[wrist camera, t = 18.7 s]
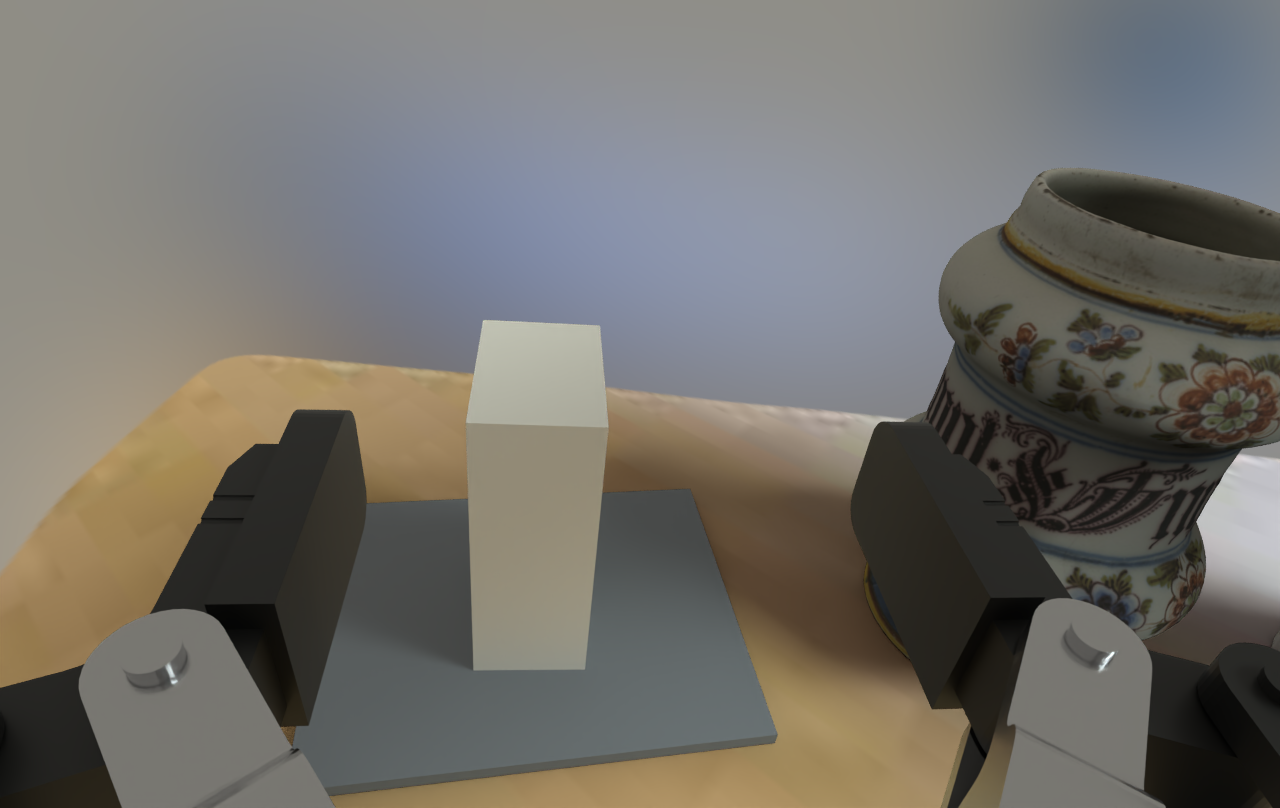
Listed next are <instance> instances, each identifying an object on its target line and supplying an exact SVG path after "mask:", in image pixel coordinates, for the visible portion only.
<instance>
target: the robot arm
mask: <svg viewBox="0 0 1280 808" xmlns="http://www.w3.org/2000/svg"><path fill="white" fill-rule="evenodd" d="M365 518H366V487H365V480H364V474H363V467H362V461H361V455H360V448H359V442H358V435H357V429H356V423H355V418H354V415H353V413H352V412H351V411H350V410H296V411H295V412H294V413H293V414H292V416H291V418H290V420H289V423H288V425H287V427H286V429H285V431H284V433H283V435H282V438H281V440H280V442H279V444H255V445H254V446H253V447H251V448H250V449H249V450H248V451H247V452H246V453H244V454H243V455H242V456H241V457H240V458H238V459H237V460H236V461H235V462H234V463H232V464H231V465H230V466H229V467H228V468H227V470H226V472H225V474H224V476H223V477H222V479H221V481H220V483H219V485H218V487H217V489H216V491H215V493H214V494H213V501H210V502H209V504H208V506H207V508H206V510H205V512H204V513H203V515H202V517H201V524H198V525H197V527H196V529H195V531H194V532H193V534H192V536H191V538H190V540H189V542H188V544H187V546H186V548H185V549H184V551H183V553H182V555H181V557H180V559H179V561H178V563H177V565H176V567H175V568H174V570H173V572H172V574H171V576H170V578H169V580H168V582H167V584H166V585H165V587H164V589H163V591H162V593H161V595H160V597H159V599H158V601H157V603H156V604H155V606H154V608H153V610H152V612H151V613H150V614H149V615H146V616H144V617H141V618H139V619H136V620H134V621H132V622H130V623H128V624H126V625H124V626H123V627H121V628H120V629H118V630H117V631H115V632H113V633H112V634H111V635H110V636H108V637H107V638H106V639H105V640H103V641H102V642H101V643H100V645H99V646H98V647H97V648H96V649H95V650H94V651H93V652H92V654H91V655H90V656H89V658H88V659H87V661H86V663H85V664H83V665H81V666H78V667H75V668H72V669H69V670H66V671H63V672H59V673H55V674H51V675H47V676H44V677H40V678H36V679H32V680H29V681H25V682H21V683H17V684H14V685H10V686H6V687H2V688H0V808H335V806H334V804H333V803H332V801H331V799H330V798H329V796H328V794H327V792H326V791H325V789H324V787H323V785H322V784H321V782H320V780H319V778H318V777H317V775H316V773H315V772H314V770H313V768H312V766H311V765H310V763H309V762H308V760H307V759H306V757H305V756H304V754H303V753H302V752H301V751H300V750H299V749H298V748H296V749H295V750H294V749H293V748H292V746H291V745H290V743H289V742H288V740H287V738H286V737H285V735H284V733H283V731H282V730H281V728H280V727H287V726H309V723H310V720H311V716H312V712H313V709H314V705H315V702H316V698H317V695H318V691H319V687H320V684H321V680H322V677H323V673H324V670H325V666H326V662H327V659H328V655H329V652H330V648H331V645H332V641H333V637H334V634H335V630H336V627H337V623H338V620H339V616H340V612H341V609H342V605H343V602H344V598H345V595H346V591H347V588H348V584H349V580H350V577H351V573H352V570H353V566H354V563H355V559H356V555H357V552H358V548H359V545H360V541H361V538H362V534H363V530H364V525H365ZM851 520H852V525H853V529H854V532H855V535H856V537H857V539H858V541H859V544H860V546H861V548H862V551H863V553H864V555H865V557H866V560H867V562H868V564H869V567H870V569H871V571H872V573H873V576H874V578H875V580H876V583H877V585H878V587H879V589H880V592H881V594H882V596H883V599H884V601H885V603H886V605H887V608H888V610H889V612H890V615H891V617H892V619H893V621H894V624H895V626H896V628H897V631H898V633H899V635H900V637H901V640H902V642H903V644H904V647H905V649H906V651H907V653H908V656H909V658H910V660H911V663H912V665H913V667H914V669H915V672H916V674H917V676H918V679H919V681H920V683H921V685H922V688H923V690H924V692H925V695H926V697H927V699H928V701H929V704H930V706H931V708H932V709H957V708H963V709H964V711H965V713H966V716H967V718H968V720H969V724H968V726H967V728H966V729H965V731H964V733H963V736H962V738H961V742H960V745H959V748H958V752H957V755H956V758H955V762H954V765H953V768H952V772H951V775H950V778H949V782H948V785H947V788H946V792H945V795H944V798H943V802H942V805H941V808H1280V631H1279V632H1278V633H1277V635H1276V636H1275V638H1274V641H1273V644H1272V647H1271V648H1270V647H1267V646H1263V645H1258V644H1253V643H1236V644H1232V645H1229V646H1227V647H1226V648H1224V649H1223V651H1222V652H1221V653H1220V654H1219V655H1218V657H1217V658H1216V659H1215V660H1214V661H1213V662H1212V664H1211V665H1210V666H1209V665H1205V664H1201V663H1197V662H1193V661H1189V660H1185V659H1181V658H1177V657H1173V656H1169V655H1165V654H1161V653H1157V652H1153V651H1150V650H1147V649H1146V647H1145V645H1144V644H1143V642H1142V641H1141V639H1140V638H1139V637H1138V636H1137V635H1136V634H1135V632H1134V631H1133V630H1132V629H1130V628H1129V627H1128V626H1127V625H1126V624H1125V623H1124V622H1122V621H1121V620H1120V619H1118V618H1117V617H1115V616H1114V615H1112V614H1111V613H1109V612H1107V611H1105V610H1103V609H1101V608H1099V607H1097V606H1095V605H1092V604H1090V603H1087V602H1084V601H1080V600H1075V599H1073V598H1072V597H1071V596H1070V594H1069V593H1068V591H1067V590H1066V588H1065V587H1064V585H1063V584H1062V582H1061V581H1060V580H1059V578H1058V577H1057V575H1056V574H1055V572H1054V571H1053V569H1052V568H1051V567H1050V565H1049V564H1048V562H1047V561H1046V559H1045V558H1044V556H1043V555H1042V553H1041V552H1040V551H1039V549H1038V548H1037V546H1036V545H1035V543H1034V542H1033V540H1032V539H1031V538H1030V536H1029V535H1028V533H1027V532H1026V530H1025V529H1024V527H1023V526H1019V520H1018V519H1017V517H1016V516H1015V514H1014V513H1013V511H1012V510H1011V509H1010V507H1009V506H1005V500H1004V498H1003V497H1002V495H1001V494H1000V493H999V491H998V490H997V488H996V487H995V485H994V484H993V482H992V481H991V480H990V478H989V477H988V476H987V475H986V474H985V473H984V472H982V471H981V470H980V469H979V468H977V467H976V466H975V465H974V464H972V463H971V462H970V461H969V460H967V459H966V458H965V457H964V456H962V455H961V454H952V453H951V452H950V450H949V449H948V447H947V446H946V444H945V443H944V441H943V440H942V438H941V437H940V435H939V434H938V432H937V431H936V429H935V428H934V426H933V425H931V424H930V423H927V422H880V423H879V424H878V425H877V426H876V427H875V429H874V431H873V434H872V437H871V440H870V443H869V446H868V449H867V452H866V455H865V458H864V461H863V464H862V467H861V470H860V473H859V476H858V479H857V482H856V485H855V488H854V491H853V494H852V499H851Z"/></svg>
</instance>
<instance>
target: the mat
mask: <svg viewBox="0 0 1280 808" xmlns="http://www.w3.org/2000/svg"><path fill="white" fill-rule="evenodd" d="M777 735H778V734H777V731H776V729H775V726H774V723H773V720H772V717H771V715H770V712H769V709H768V706H767V703H766V701H765V698H764V695H763V692H762V689H761V686H760V684H759V681H758V678H757V675H756V672H755V670H754V667H753V664H752V661H751V658H750V656H749V653H748V650H747V647H746V644H745V642H744V639H743V636H742V633H741V630H740V628H739V625H738V622H737V619H736V616H735V614H734V611H733V608H732V605H731V602H730V600H729V597H728V594H727V591H726V588H725V585H724V583H723V580H722V577H721V574H720V571H719V569H718V566H717V563H716V560H715V557H714V555H713V552H712V549H711V546H710V543H709V541H708V538H707V535H706V532H705V529H704V527H703V524H702V521H701V518H700V515H699V513H698V510H697V507H696V504H695V501H694V498H693V496H692V493H691V490H690V489H675V490H653V491H630V492H608V493H602V500H601V510H600V521H599V531H598V541H597V551H596V561H595V572H594V582H593V592H592V602H591V613H590V623H589V633H588V643H587V653H586V664H585V670H473V638H472V606H471V574H470V543H469V511H468V499H453V500H431V501H409V502H387V503H366V518H365V525H364V530H363V534H362V538H361V541H360V545H359V548H358V552H357V555H356V559H355V563H354V566H353V570H352V573H351V577H350V580H349V584H348V588H347V591H346V595H345V598H344V602H343V605H342V609H341V612H340V616H339V620H338V623H337V627H336V630H335V634H334V637H333V641H332V645H331V648H330V652H329V655H328V659H327V662H326V666H325V670H324V673H323V677H322V680H321V684H320V687H319V691H318V695H317V698H316V702H315V705H314V709H313V712H312V716H311V720H310V723H309V726H296V730H295V735H294V740H293V746H292V748H293V749H294V750H295V749H296V748H298V749H299V750H300V751H301V752H302V753H303V754H304V756H305V757H306V759H307V760H308V762H309V763H310V765H311V766H312V768H313V770H314V772H315V773H316V775H317V777H318V778H319V780H320V782H321V784H322V785H323V787H324V789H325V791H326V792H327V794H328V796H333V795H342V794H350V793H358V792H367V791H375V790H383V789H392V788H400V787H409V786H417V785H425V784H434V783H442V782H451V781H459V780H467V779H476V778H484V777H493V776H501V775H509V774H518V773H526V772H535V771H543V770H551V769H560V768H568V767H577V766H585V765H593V764H602V763H610V762H619V761H627V760H635V759H644V758H652V757H661V756H669V755H677V754H686V753H694V752H703V751H711V750H719V749H728V748H736V747H745V746H753V745H761V744H770V743H775V741H776V738H777Z"/></svg>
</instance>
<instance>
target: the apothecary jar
mask: <svg viewBox="0 0 1280 808" xmlns="http://www.w3.org/2000/svg"><path fill="white" fill-rule="evenodd" d="M939 308H940V312H941V317H942V319H943V322H944V324H945V326H946V328H947V330H948V332H949V334H950V335H951V337H952V338H953V339H954V341H955V344H954V347H953V349H952V352H951V355H950V358H949V360H948V363H947V365H946V367H945V370H944V372H943V375H942V377H941V380H940V382H939V384H938V387H937V389H936V392H935V394H934V396H933V399H932V401H931V402H930V405H929V407H928V410H927V411H926V412H923V413H921V414H918V415H916V416H914V417H912V418H910V419H908V420H906V421H904V422H927V423H930V424H931V425H933V426H934V428H935V429H936V431H937V432H938V434H939V435H940V437H941V438H942V440H943V441H944V443H945V444H946V446H947V447H948V449H949V450H950V452H951V453H952V454H961V455H962V456H964V457H965V458H966V459H967V460H969V461H970V462H971V463H972V464H974V465H975V466H976V467H977V468H979V469H980V470H981V471H982V472H984V473H985V474H986V475H987V476H988V477H989V478H990V480H991V481H992V482H993V484H994V485H995V487H996V488H997V490H998V491H999V493H1000V494H1001V495H1002V497H1003V498H1004V500H1005V506H1009V507H1010V509H1011V510H1012V511H1013V513H1014V514H1015V516H1016V517H1017V519H1018V520H1019V526H1023V527H1024V529H1025V530H1026V532H1027V533H1028V535H1029V536H1030V538H1031V539H1032V540H1033V542H1034V543H1035V545H1036V546H1037V548H1038V549H1039V551H1040V552H1041V553H1042V555H1043V556H1044V558H1045V559H1046V561H1047V562H1048V564H1049V565H1050V567H1051V568H1052V569H1053V571H1054V572H1055V574H1056V575H1057V577H1058V578H1059V580H1060V581H1061V582H1062V584H1063V585H1064V587H1065V588H1066V590H1067V591H1068V593H1069V594H1070V596H1071V597H1072V598H1073V599H1075V600H1080V601H1084V602H1087V603H1090V604H1092V605H1095V606H1097V607H1099V608H1101V609H1103V610H1105V611H1107V612H1109V613H1111V614H1112V615H1114V616H1115V617H1117V618H1118V619H1120V620H1121V621H1122V622H1124V623H1125V624H1126V625H1127V626H1128V627H1129V628H1130V629H1132V630H1133V631H1134V632H1135V634H1136V635H1137V636H1138V637H1139V638H1140V639H1141V640H1144V639H1147V638H1150V637H1153V636H1156V635H1158V634H1160V633H1162V632H1164V631H1166V630H1167V629H1169V628H1170V627H1172V626H1173V625H1175V624H1176V623H1178V622H1179V621H1180V620H1181V619H1182V618H1183V617H1184V616H1185V615H1186V614H1187V613H1188V612H1189V611H1190V610H1191V609H1192V607H1193V606H1194V604H1195V603H1196V601H1197V599H1198V597H1199V595H1200V593H1201V589H1202V586H1203V583H1204V578H1205V572H1206V557H1205V550H1204V544H1203V540H1202V537H1201V534H1200V531H1199V528H1198V525H1197V523H1196V521H1197V519H1198V517H1199V516H1200V514H1201V512H1202V510H1203V508H1204V506H1205V505H1206V503H1207V501H1208V500H1209V498H1210V496H1211V495H1212V493H1213V492H1214V490H1215V488H1216V487H1217V486H1218V484H1219V483H1220V481H1221V479H1222V477H1223V475H1224V473H1225V472H1226V470H1227V469H1228V467H1229V466H1230V465H1231V463H1232V462H1233V461H1234V459H1235V458H1236V456H1237V455H1238V454H1239V452H1240V451H1241V449H1242V448H1251V447H1257V446H1262V445H1267V444H1271V443H1275V442H1278V441H1280V213H1277V212H1275V211H1272V210H1269V209H1266V208H1264V207H1261V206H1258V205H1255V204H1252V203H1250V202H1246V201H1243V200H1240V199H1237V198H1234V197H1230V196H1227V195H1224V194H1220V193H1216V192H1213V191H1209V190H1205V189H1201V188H1197V187H1193V186H1189V185H1184V184H1180V183H1175V182H1171V181H1167V180H1162V179H1156V178H1151V177H1146V176H1140V175H1134V174H1127V173H1120V172H1113V171H1105V170H1096V169H1086V168H1058V169H1051V170H1047V171H1044V172H1042V173H1041V174H1039V175H1038V176H1037V177H1036V178H1035V180H1034V181H1033V182H1032V184H1031V185H1030V187H1029V189H1028V190H1027V192H1026V193H1025V196H1024V198H1023V200H1022V203H1021V205H1020V207H1019V208H1018V209H1016V210H1015V211H1014V213H1013V214H1012V215H1011V217H1010V218H1009V220H1008V222H1007V223H1004V224H1002V225H998V226H996V227H993V228H991V229H988V230H986V231H984V232H982V233H980V234H979V235H977V236H975V237H973V238H972V239H970V240H969V241H968V242H967V243H965V244H964V245H963V246H962V247H960V248H959V249H958V250H957V252H956V253H955V254H954V255H953V256H952V258H951V259H950V261H949V262H948V264H947V266H946V268H945V270H944V272H943V275H942V278H941V283H940V288H939ZM864 588H865V593H866V597H867V601H868V604H869V606H870V608H871V611H872V613H873V615H874V617H875V619H876V620H877V622H878V623H879V625H880V627H881V628H882V630H883V631H884V633H885V634H886V635H887V636H888V638H889V639H890V640H891V641H892V642H893V643H894V644H895V645H896V646H897V648H898V649H899V650H901V651H902V653H903V654H904V655H905V656H907V657H908V658H909V656H908V653H907V651H906V649H905V647H904V644H903V642H902V640H901V637H900V635H899V633H898V631H897V628H896V626H895V624H894V621H893V619H892V617H891V615H890V612H889V610H888V608H887V605H886V603H885V601H884V599H883V596H882V594H881V592H880V589H879V587H878V585H877V583H876V580H875V578H874V576H873V573H872V571H871V569H870V567H869V564H868V562H867V564H866V567H865V573H864ZM909 659H910V658H909Z"/></svg>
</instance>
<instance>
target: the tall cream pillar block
mask: <svg viewBox="0 0 1280 808" xmlns="http://www.w3.org/2000/svg"><path fill="white" fill-rule="evenodd" d="M608 429H609V426H608V415H607V403H606V392H605V380H604V368H603V357H602V346H601V334H600V326H598V325H597V326H596V325H576V324H557V323H536V322H535V323H534V322H516V321H494V320H483V326H482V331H481V338H480V343H479V348H478V354H477V360H476V367H475V372H474V378H473V384H472V389H471V395H470V401H469V407H468V413H467V419H466V447H467V479H468V511H469V543H470V574H471V606H472V638H473V670H585V664H586V653H587V643H588V633H589V623H590V613H591V602H592V592H593V582H594V572H595V561H596V551H597V541H598V531H599V521H600V510H601V500H602V490H603V480H604V469H605V459H606V449H607V439H608Z"/></svg>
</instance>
